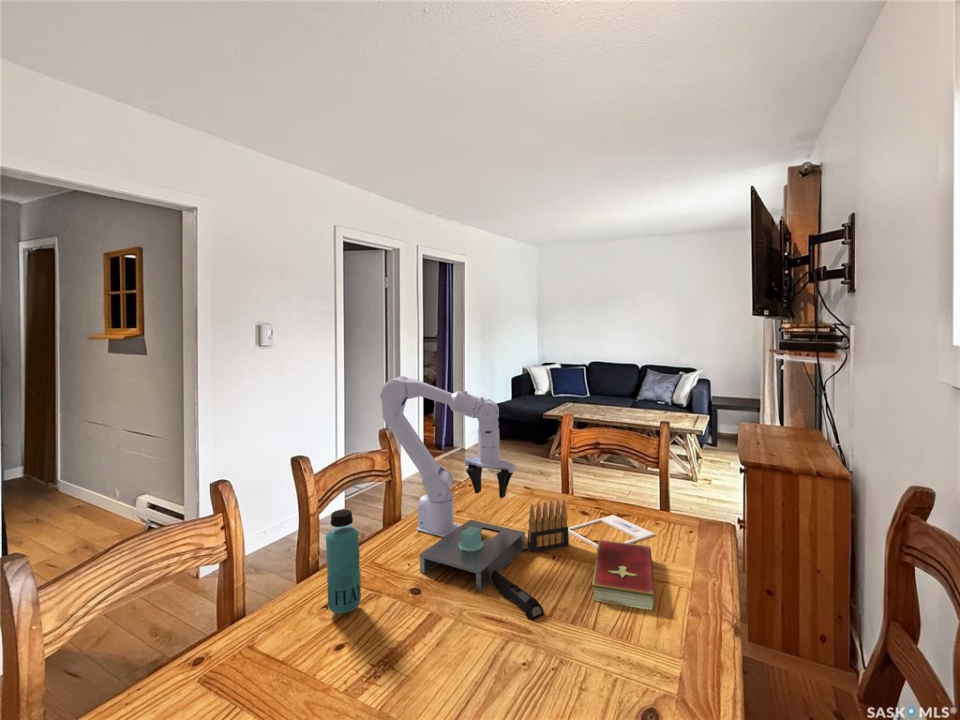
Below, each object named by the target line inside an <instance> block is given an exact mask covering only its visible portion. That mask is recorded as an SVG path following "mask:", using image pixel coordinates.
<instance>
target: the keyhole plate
mask: <svg viewBox="0 0 960 720" xmlns="http://www.w3.org/2000/svg"><path fill="white" fill-rule="evenodd" d="M470 526H471V527H475V528H478V529H481V532H482V531H483V530H484V531H489V532H492V533H497V534H495V535H494V536H493V537H492V538H489V537H486V538H485V539H484V540H482V541H483V543H484V547H483V548H482V549H481V550H479V551H475V552H466V551H463V550H461V549H459V547H458V544H459V542H460V541H461V532H462V531H464V530H466V529H467V528H469V527H470ZM525 549H526V531H521V530H517V529H513V528H509V527H505V526H501V525H495V524H492V523H487V522H483V521H478V520H473V519H469V520H467V521H466V522H465V523H463V524H462V525H460V527H459V528H457V529H456V530H454V531H453V532H451V533H450V534H448V535H447V536H446V537H442V538H441V539H440V540H438V541H437V542H435V543H434V544H433V545H431V546H430V547H428V548H426V549H425V550H424V551H422V552H421V553H420V554H419V572H420V573H422V574H423V575H424V574H426V573H427V572H429V571H430V570H432V569H433V568H434V567H435V566H437V565H438V564H443V565H446V566H450V567H453V568H456V569H460V570H463V571H466V572H470V573H474V574H475V588H476V589H475V590H476V591H478V592H482V591H484V589H485V588H486V587H487V586H489V584H490V583H492V581H491V576H492V572H493V571H497V572H499V573H500V574H501V573H502V572H503V570H505V568H506V567H508V566H509V565H510V564H511V563H512V562H513V561H514V560H515V559H516V558H517V557H518V556H519V555H520V554H521V553H522V552H523V551H524V550H525Z"/></svg>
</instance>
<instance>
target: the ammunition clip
mask: <svg viewBox="0 0 960 720" xmlns="http://www.w3.org/2000/svg"><path fill="white" fill-rule="evenodd" d="M548 507H549V508H548ZM554 507H555V508H554ZM568 528H569V526H568V513H567V502H566V499H565V498H564V499H562V503H560V501H559V500H558V499H557V500H556V503H555V506H554V502H553V500H551V501H550V503H549V506H548V505H547V502H546V501H544V503H543V507H542V508H541V504H540V502H538V503H537V504H536V513H535V506H534V504H533V503H530V507H529V519H528V529H527V549H526V550H527V552H529V553H530V554H533V553H539V552H544V551H549V550H550V551H551V550H555V549H556V550H557V549H562V548H566V547H567V548H568V547H570V539H569V532H568Z"/></svg>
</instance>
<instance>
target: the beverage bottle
mask: <svg viewBox="0 0 960 720" xmlns="http://www.w3.org/2000/svg"><path fill="white" fill-rule="evenodd" d="M353 522H354V518H353V513H352V511H351V510H349V509H345V508H344V509H338V510H335V511H333V512H332V513H331V515H330V525H331V526H332V527H333V528H331V530H330V531H328V532H327V533H326V536H325V545H326V548H325V550H326V552H325V553H326V570H327V571H326V573H327V576H326V577H327V578H326V588H327V607H328V610H329V611H331V613H334V614H346V613H349V612H353V611H354V610H355V609H357V608H358V607H359V605H360V603H361V600H362V594H361V592H362V583H361V581H362V580H361V579H362V578H361V574H362V573H361V566H360V559H361V558H360V557H361V553H360V546H361V545H360V544H359V543H360V542H359V534H360V533H359V531H358V530H357V529H356V528H355V527H354V526H352V525H351V524H353Z"/></svg>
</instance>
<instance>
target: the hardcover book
mask: <svg viewBox="0 0 960 720" xmlns="http://www.w3.org/2000/svg"><path fill="white" fill-rule="evenodd" d="M597 545H598V549H597V548H596V550H597V551H596V556H595V564H594V571H593V576H592V582H591V587H593V601H594V602H598V603H599V602H600V603H604V604H605V603H607V604H610V605H611V604H612V605H618V606H623V607H630V608H637V609H642V610H648V609H650V610H649V611H652V612H653V611H654V612H655V611H656V595H655V585H654V584H655V582H654V569H653V559H652V551H651V549H652V548H651V546H650V545H644V544H636V543H631V544H630V543H623V542H620V541H612V540H605V539H598V544H597Z"/></svg>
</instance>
